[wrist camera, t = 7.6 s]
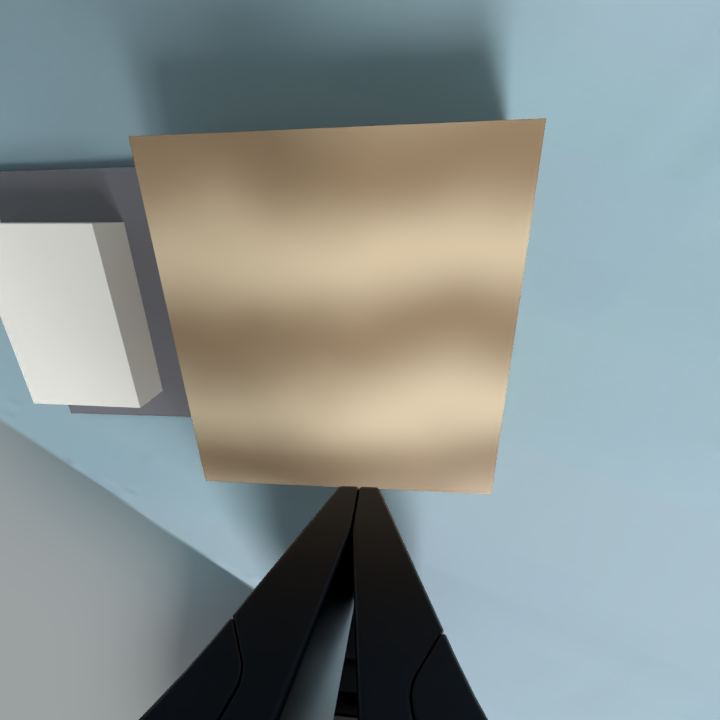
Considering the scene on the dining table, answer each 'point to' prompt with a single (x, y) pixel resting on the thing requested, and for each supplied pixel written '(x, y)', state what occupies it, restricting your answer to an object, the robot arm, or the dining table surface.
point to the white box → (76, 314)
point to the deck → (345, 296)
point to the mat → (125, 204)
